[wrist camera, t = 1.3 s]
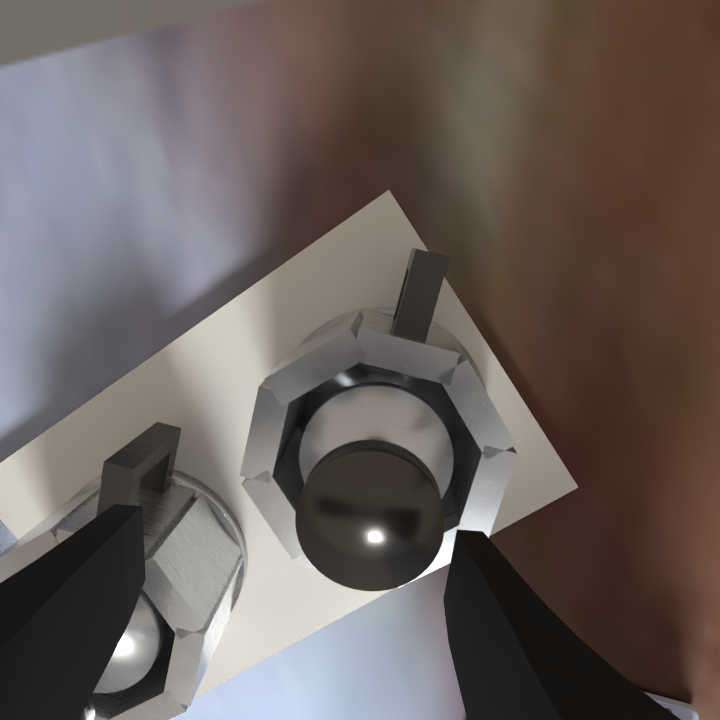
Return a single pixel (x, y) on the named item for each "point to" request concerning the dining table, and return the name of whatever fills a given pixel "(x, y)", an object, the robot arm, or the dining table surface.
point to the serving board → (234, 414)
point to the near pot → (392, 365)
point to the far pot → (159, 565)
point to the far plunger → (132, 652)
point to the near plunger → (373, 486)
